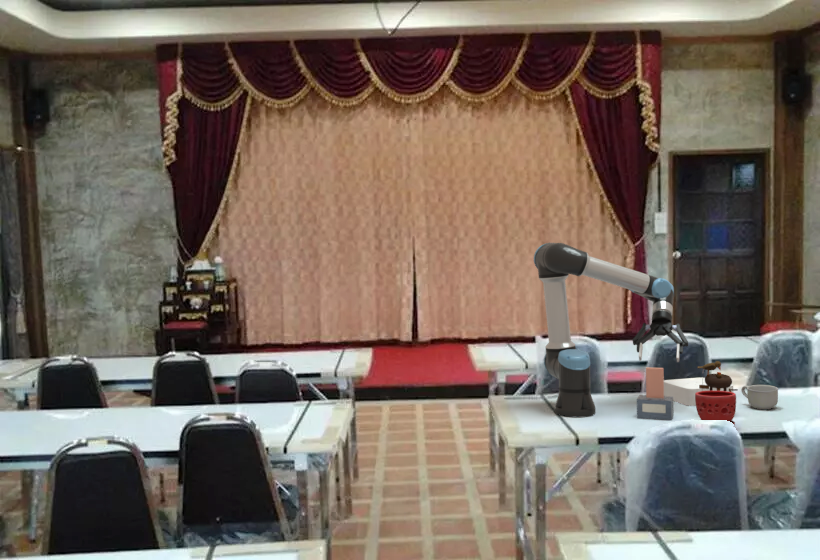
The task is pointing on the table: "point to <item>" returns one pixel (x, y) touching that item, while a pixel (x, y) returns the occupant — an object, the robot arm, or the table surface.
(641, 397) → the block
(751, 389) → the teacup
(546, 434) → the table surface
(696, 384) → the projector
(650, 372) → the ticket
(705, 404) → the plant pot
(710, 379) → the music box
